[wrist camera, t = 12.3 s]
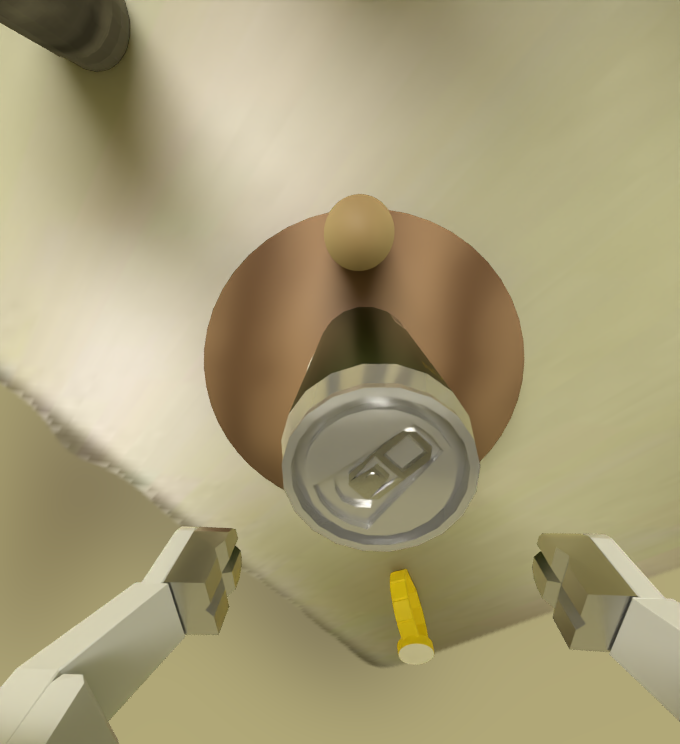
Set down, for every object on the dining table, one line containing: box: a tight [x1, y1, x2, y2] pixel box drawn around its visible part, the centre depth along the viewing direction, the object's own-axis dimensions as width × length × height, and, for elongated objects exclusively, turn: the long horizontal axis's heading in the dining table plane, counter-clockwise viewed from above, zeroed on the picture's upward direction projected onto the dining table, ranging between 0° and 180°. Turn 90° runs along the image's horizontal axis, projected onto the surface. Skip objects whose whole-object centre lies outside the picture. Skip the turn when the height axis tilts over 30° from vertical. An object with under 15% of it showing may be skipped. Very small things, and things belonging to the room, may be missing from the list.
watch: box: [390, 569, 434, 665], centre depth 27 cm, size 6×3×6 cm, turn 22°
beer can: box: [281, 307, 480, 552], centre depth 14 cm, size 5×5×12 cm
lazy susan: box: [204, 194, 524, 489], centre depth 19 cm, size 20×20×6 cm
